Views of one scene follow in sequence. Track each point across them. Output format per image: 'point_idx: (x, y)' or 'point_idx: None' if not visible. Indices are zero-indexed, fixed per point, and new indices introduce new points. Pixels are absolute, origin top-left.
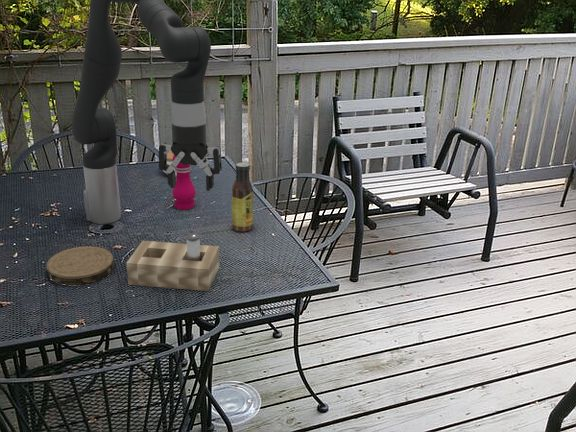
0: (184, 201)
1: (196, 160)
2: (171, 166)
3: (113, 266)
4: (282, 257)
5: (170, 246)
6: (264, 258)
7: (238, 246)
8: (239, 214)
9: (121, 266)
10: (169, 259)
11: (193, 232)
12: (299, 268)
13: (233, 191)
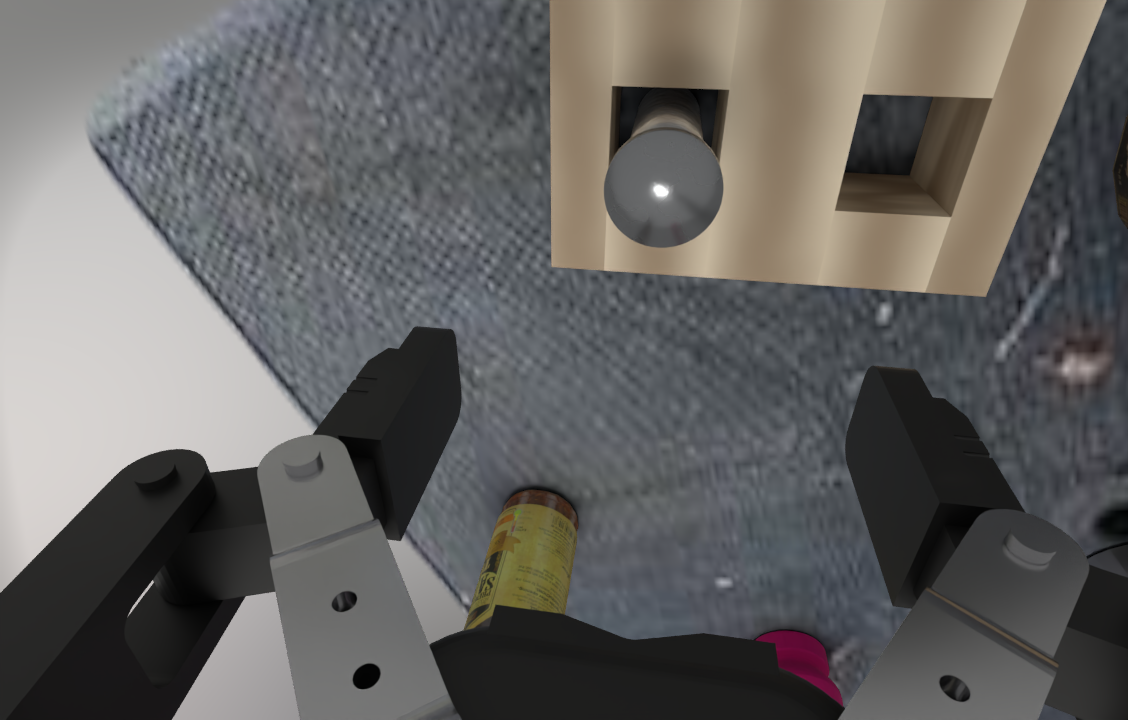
0: (787, 662)
1: (407, 689)
2: (1013, 619)
3: (1123, 159)
4: (335, 319)
5: (814, 243)
6: (400, 307)
7: (525, 390)
8: (530, 546)
9: (1068, 182)
10: (807, 85)
11: (663, 217)
12: (244, 240)
13: None
